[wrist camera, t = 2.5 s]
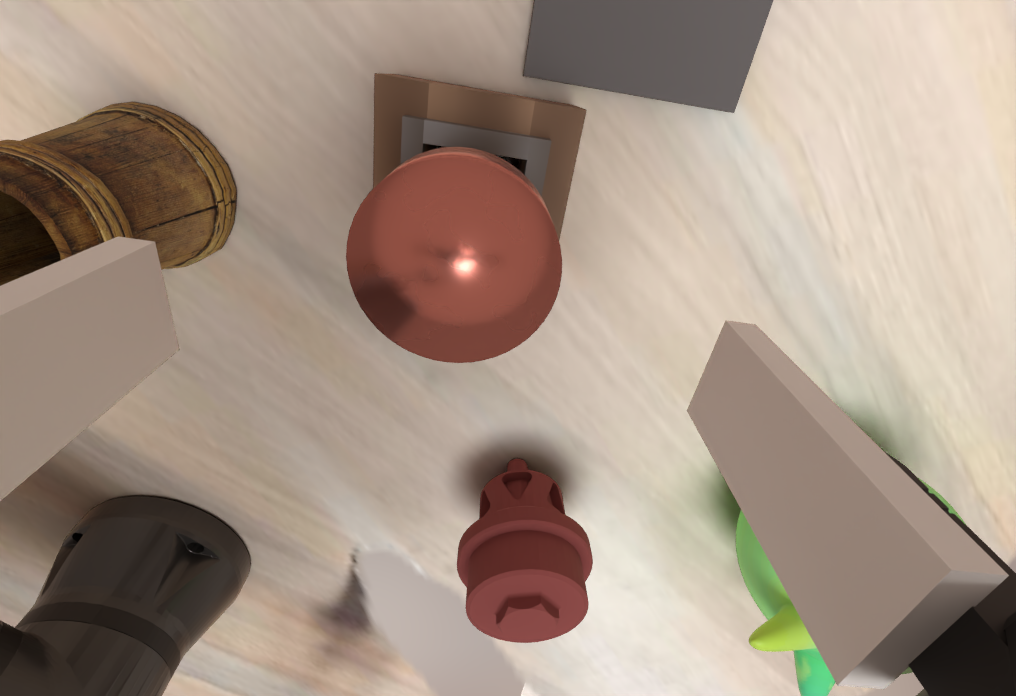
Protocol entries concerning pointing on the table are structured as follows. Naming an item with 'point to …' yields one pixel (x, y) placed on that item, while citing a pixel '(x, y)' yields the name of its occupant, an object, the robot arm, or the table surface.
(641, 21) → the rubber mat
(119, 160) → the wooden mug
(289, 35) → the table surface
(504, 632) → the mechanical component
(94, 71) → the table surface
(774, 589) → the toy bird
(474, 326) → the peg
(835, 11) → the table surface
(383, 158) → the eye block
